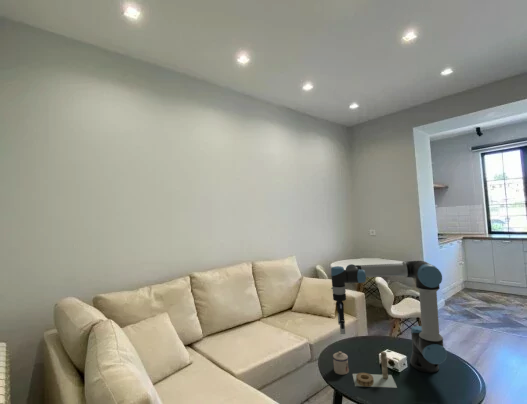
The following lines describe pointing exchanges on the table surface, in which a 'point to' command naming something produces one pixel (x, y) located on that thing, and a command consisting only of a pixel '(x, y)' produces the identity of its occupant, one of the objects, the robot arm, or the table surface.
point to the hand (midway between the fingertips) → (341, 329)
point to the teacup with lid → (340, 363)
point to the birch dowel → (384, 365)
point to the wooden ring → (361, 379)
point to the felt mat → (379, 381)
